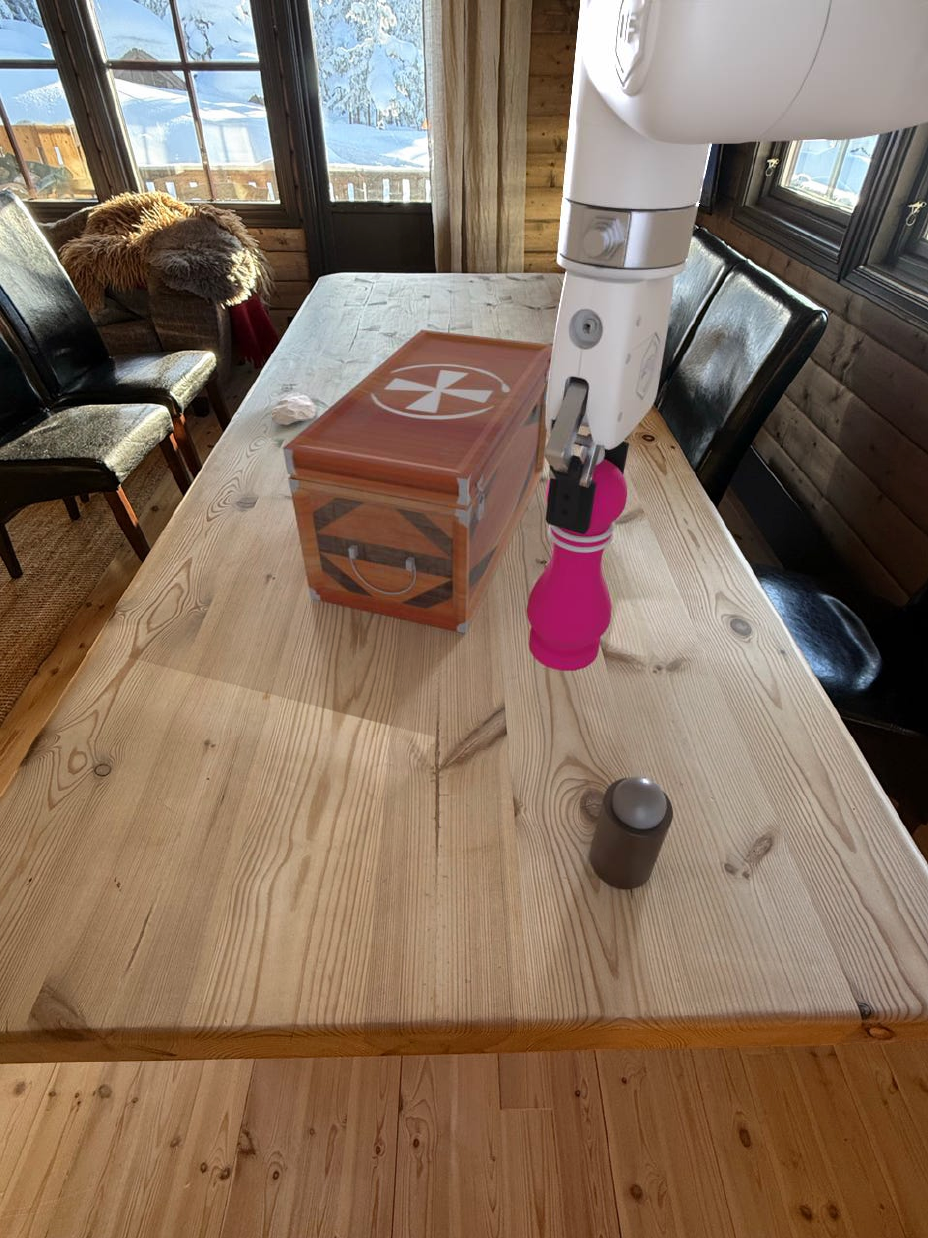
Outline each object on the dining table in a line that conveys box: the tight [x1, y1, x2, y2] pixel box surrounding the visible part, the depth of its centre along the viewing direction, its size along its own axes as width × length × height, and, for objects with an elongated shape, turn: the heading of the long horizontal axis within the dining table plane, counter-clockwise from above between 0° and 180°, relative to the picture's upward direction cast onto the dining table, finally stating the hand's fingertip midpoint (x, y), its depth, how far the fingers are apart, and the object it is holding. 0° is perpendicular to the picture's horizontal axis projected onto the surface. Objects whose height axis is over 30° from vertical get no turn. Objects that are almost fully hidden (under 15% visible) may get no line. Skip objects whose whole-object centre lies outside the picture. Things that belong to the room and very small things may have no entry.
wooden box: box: [282, 329, 553, 634], centre depth 86 cm, size 20×41×20 cm, turn 162°
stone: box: [270, 392, 317, 426], centre depth 121 cm, size 8×14×2 cm, turn 5°
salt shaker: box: [589, 775, 674, 891], centre depth 52 cm, size 5×5×10 cm
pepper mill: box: [526, 445, 628, 672], centre depth 53 cm, size 7×7×20 cm
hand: (584, 503), depth 50 cm, fingers closed on pepper mill, 6 cm apart
